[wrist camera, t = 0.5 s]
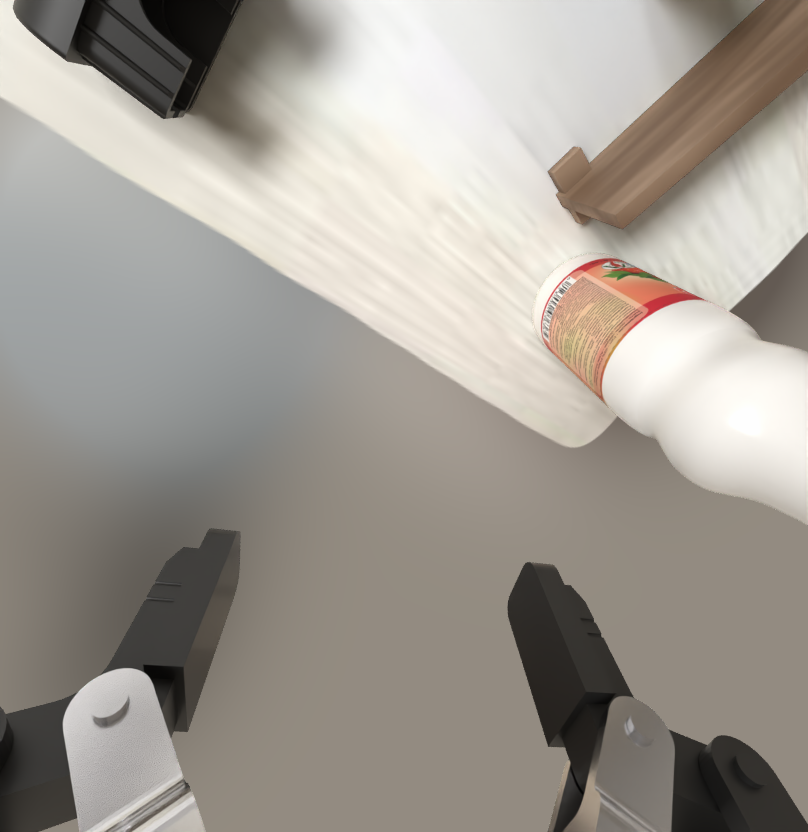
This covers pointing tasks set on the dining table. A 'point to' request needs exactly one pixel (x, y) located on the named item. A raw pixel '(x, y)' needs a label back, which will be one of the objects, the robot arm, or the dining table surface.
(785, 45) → the walnut screen
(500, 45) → the dining table surface
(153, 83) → the end cap
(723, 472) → the fruit juice
